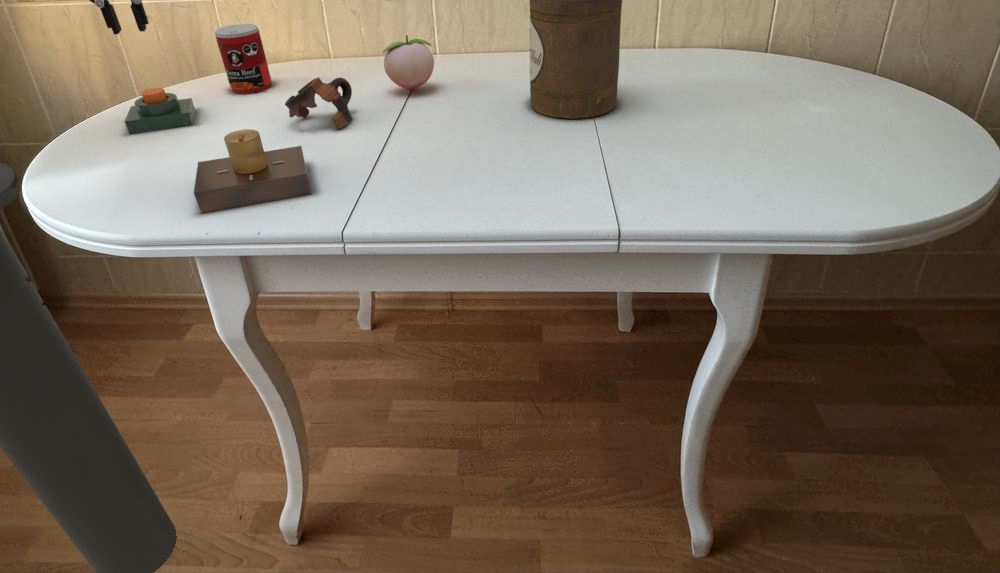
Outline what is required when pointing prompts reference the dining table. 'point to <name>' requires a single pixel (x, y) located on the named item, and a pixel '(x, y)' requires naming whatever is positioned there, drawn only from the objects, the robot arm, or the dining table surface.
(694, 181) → the dining table surface
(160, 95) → the button
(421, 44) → the decorative fruit
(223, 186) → the plate
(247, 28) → the canned food
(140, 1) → the robot arm
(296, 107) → the brown angular looped piece
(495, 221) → the dining table surface
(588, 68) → the wooden container
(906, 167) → the dining table surface
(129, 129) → the button box
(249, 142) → the lock knob
